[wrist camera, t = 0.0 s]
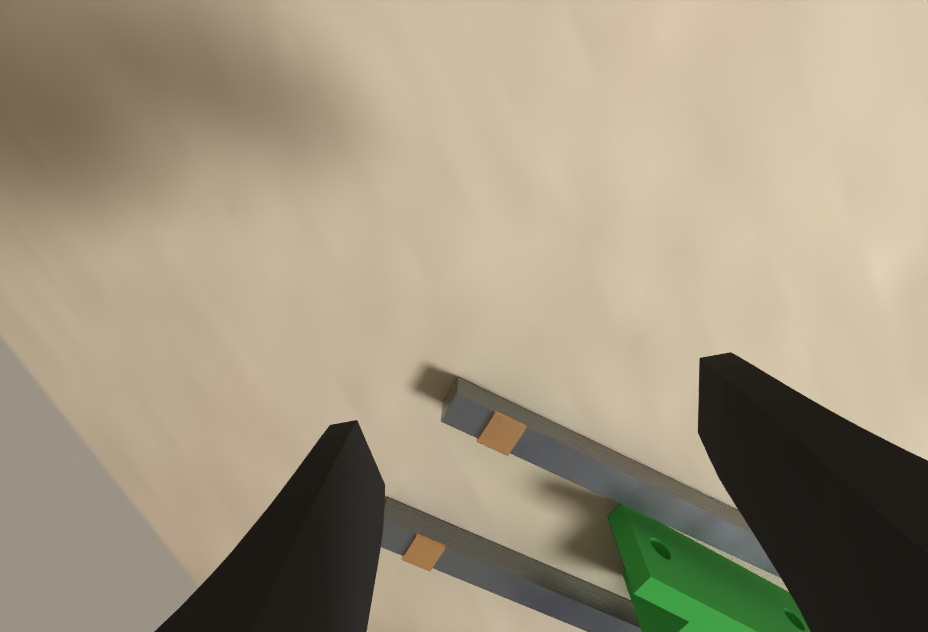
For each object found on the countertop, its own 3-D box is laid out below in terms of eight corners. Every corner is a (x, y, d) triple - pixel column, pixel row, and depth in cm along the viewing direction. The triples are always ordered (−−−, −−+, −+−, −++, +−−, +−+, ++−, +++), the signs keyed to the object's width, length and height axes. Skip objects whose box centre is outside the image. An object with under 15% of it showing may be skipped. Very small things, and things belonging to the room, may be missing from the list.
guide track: (730, 667, 28) (745, 700, 27) (374, 519, 25) (367, 545, 23) (844, 560, 25) (869, 589, 24) (458, 375, 22) (457, 395, 20)
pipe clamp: (575, 547, 26) (594, 631, 21) (620, 497, 25) (650, 576, 20) (741, 633, 28) (790, 727, 23) (791, 591, 26) (851, 681, 22)
